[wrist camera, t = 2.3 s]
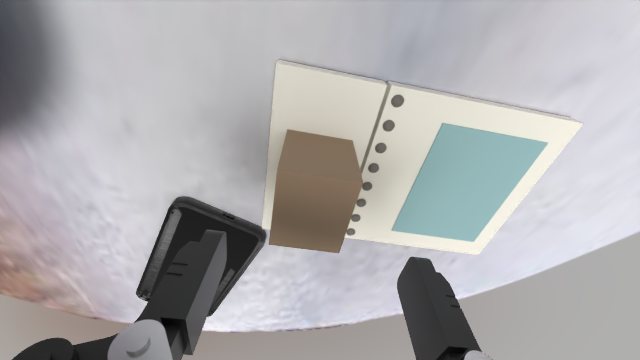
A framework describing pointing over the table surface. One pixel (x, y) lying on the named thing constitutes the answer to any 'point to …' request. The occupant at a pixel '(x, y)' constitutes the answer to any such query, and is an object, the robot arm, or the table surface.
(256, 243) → the phone
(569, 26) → the table surface
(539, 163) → the ticket pad
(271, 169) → the brown cream block
